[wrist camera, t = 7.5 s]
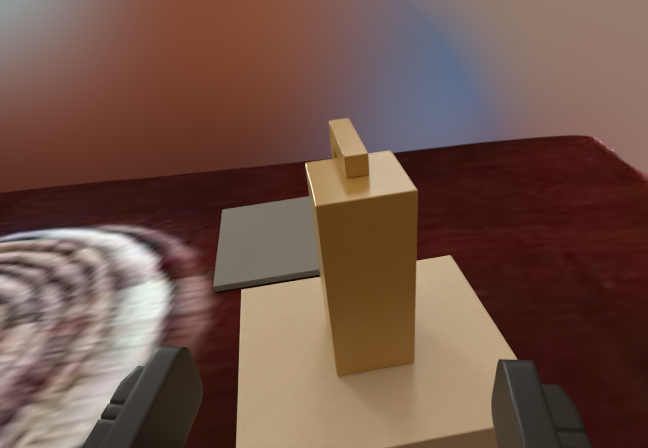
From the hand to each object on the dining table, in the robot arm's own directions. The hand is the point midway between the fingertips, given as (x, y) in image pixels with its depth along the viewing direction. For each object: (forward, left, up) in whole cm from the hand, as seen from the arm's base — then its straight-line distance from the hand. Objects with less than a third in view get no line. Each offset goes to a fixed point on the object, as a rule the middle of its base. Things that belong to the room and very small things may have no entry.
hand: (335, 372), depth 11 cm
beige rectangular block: (+2, +9, -13) cm, 16 cm away
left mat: (0, +26, -13) cm, 29 cm away
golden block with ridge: (+2, +10, -9) cm, 14 cm away
